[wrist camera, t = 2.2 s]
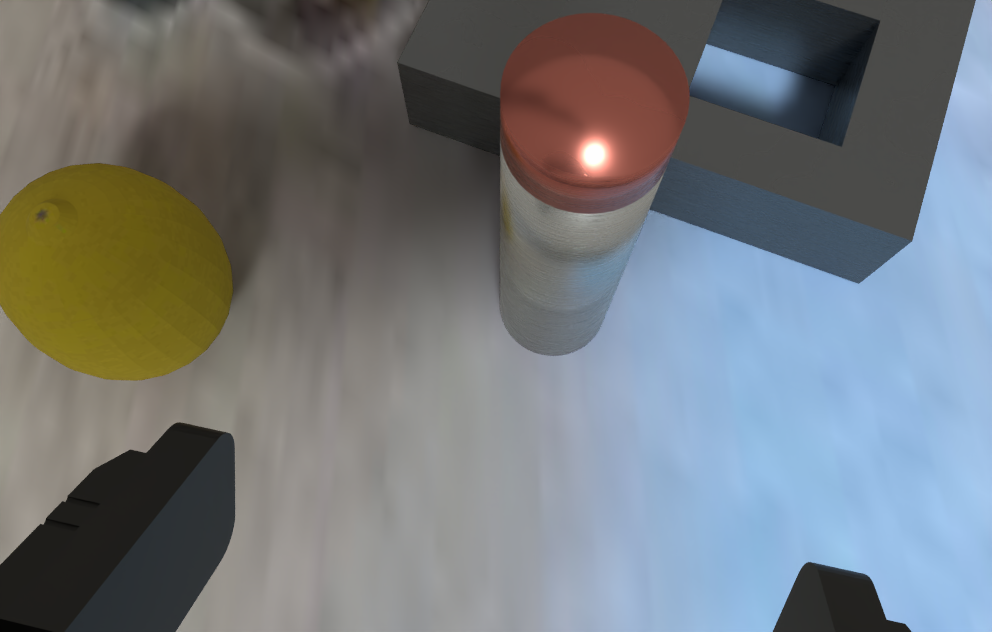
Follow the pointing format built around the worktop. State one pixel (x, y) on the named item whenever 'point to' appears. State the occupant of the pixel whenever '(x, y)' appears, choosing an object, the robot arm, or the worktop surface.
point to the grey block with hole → (735, 136)
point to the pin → (580, 169)
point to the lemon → (112, 272)
